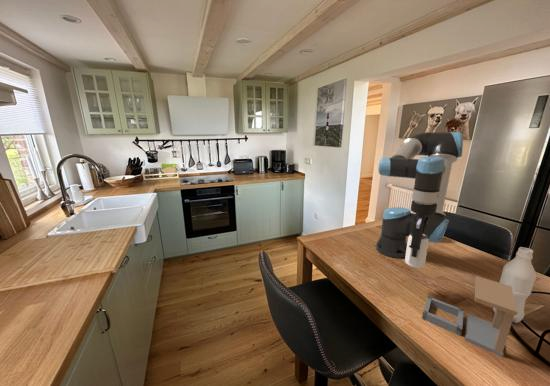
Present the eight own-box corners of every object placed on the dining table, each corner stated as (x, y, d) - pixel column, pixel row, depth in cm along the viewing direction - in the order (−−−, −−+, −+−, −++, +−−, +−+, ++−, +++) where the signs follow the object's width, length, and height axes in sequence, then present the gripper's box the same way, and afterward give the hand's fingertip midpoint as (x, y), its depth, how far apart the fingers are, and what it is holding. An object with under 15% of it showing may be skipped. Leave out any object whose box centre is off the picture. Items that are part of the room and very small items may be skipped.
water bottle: (485, 309, 77) (502, 244, 71) (503, 307, 78) (523, 243, 71) (507, 326, 70) (529, 256, 64) (528, 324, 71) (551, 254, 64)
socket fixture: (421, 321, 73) (428, 281, 69) (427, 299, 82) (434, 263, 78) (502, 358, 60) (517, 311, 57) (499, 327, 70) (511, 286, 66)
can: (427, 269, 81) (432, 240, 78) (408, 268, 82) (412, 238, 79) (420, 259, 87) (424, 232, 84) (402, 258, 88) (406, 231, 85)
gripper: (433, 211, 68) (422, 275, 75) (440, 196, 82) (430, 252, 88) (406, 206, 73) (397, 267, 79) (417, 193, 87) (409, 246, 93)
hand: (415, 259), depth 84 cm, fingers closed on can, 6 cm apart
